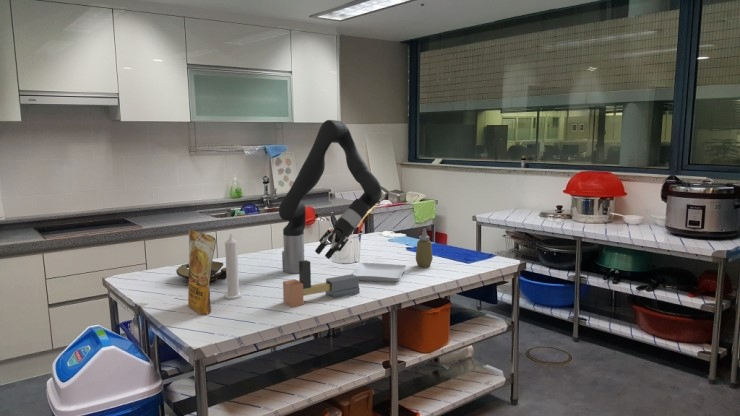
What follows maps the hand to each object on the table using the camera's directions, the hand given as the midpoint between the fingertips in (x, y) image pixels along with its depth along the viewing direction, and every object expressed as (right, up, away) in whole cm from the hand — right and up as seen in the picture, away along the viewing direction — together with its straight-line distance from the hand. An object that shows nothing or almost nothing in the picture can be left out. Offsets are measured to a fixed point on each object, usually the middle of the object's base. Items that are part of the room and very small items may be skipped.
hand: (321, 255), depth 202 cm
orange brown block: (-10, -18, -4) cm, 21 cm away
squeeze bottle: (+44, -10, +48) cm, 66 cm away
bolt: (-3, -14, 0) cm, 14 cm away
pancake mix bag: (-43, -19, -9) cm, 48 cm away
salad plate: (+23, -13, +32) cm, 41 cm away
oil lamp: (-52, -14, +26) cm, 60 cm away
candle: (-35, -17, +4) cm, 39 cm away
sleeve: (+8, -16, +7) cm, 19 cm away
